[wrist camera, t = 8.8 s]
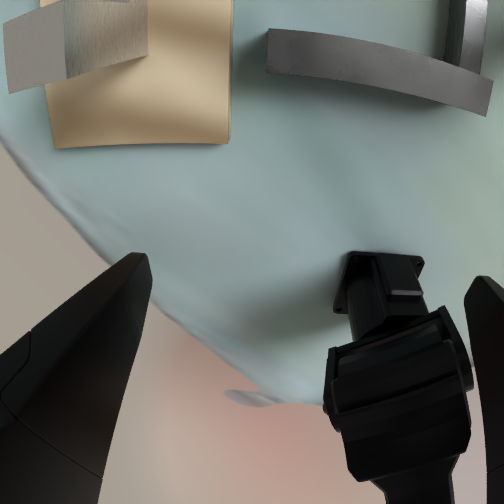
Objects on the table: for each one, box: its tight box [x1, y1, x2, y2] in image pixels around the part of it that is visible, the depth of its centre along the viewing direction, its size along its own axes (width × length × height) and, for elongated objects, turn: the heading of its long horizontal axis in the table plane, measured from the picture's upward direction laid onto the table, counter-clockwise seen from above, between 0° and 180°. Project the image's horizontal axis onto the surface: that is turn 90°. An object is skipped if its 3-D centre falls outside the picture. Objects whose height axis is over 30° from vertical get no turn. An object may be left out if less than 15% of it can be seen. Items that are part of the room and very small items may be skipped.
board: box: [40, 0, 234, 149], centre depth 14 cm, size 14×12×1 cm
